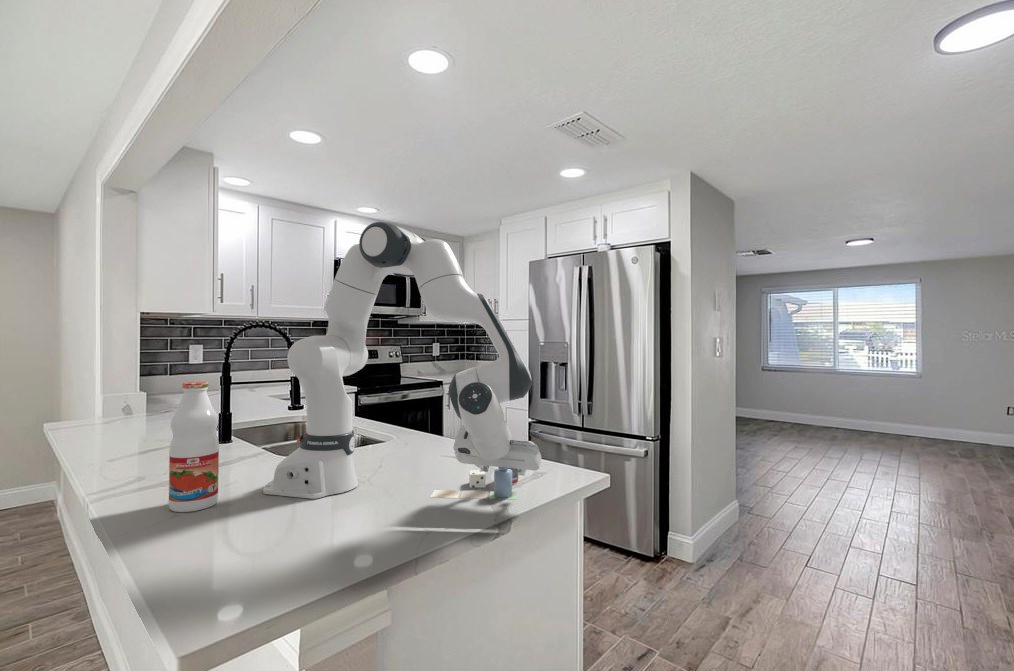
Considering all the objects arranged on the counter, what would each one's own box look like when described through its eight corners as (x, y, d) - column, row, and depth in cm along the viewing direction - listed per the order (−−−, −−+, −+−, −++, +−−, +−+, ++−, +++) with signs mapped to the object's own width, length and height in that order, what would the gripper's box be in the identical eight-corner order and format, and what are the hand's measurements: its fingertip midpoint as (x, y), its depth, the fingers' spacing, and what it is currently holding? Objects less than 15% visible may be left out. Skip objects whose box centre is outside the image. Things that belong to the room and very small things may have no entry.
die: (469, 490, 121) (469, 474, 121) (469, 485, 125) (469, 470, 125) (485, 489, 121) (485, 474, 121) (484, 485, 125) (484, 469, 125)
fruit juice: (221, 496, 114) (222, 380, 114) (214, 509, 105) (216, 384, 105) (174, 501, 110) (175, 381, 110) (163, 515, 101) (165, 385, 101)
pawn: (492, 497, 113) (493, 462, 113) (495, 491, 118) (495, 458, 118) (510, 498, 113) (511, 463, 113) (512, 492, 117) (513, 458, 117)
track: (426, 500, 113) (426, 497, 113) (430, 491, 119) (430, 489, 119) (520, 502, 112) (520, 499, 112) (520, 493, 118) (520, 491, 118)
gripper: (539, 431, 106) (547, 463, 115) (454, 424, 112) (469, 456, 121) (534, 455, 102) (543, 487, 111) (446, 447, 107) (462, 478, 117)
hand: (503, 470), depth 116 cm, fingers open, 8 cm apart
